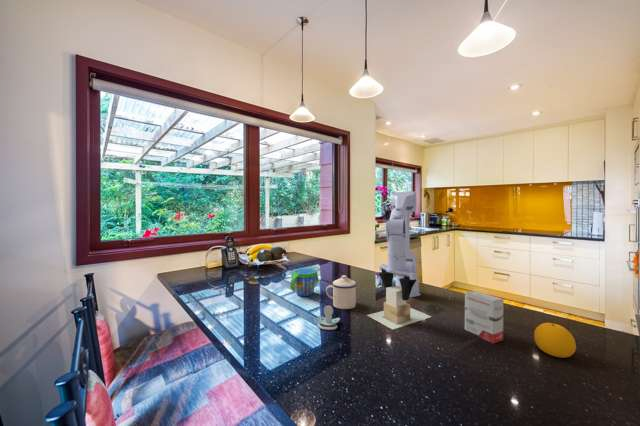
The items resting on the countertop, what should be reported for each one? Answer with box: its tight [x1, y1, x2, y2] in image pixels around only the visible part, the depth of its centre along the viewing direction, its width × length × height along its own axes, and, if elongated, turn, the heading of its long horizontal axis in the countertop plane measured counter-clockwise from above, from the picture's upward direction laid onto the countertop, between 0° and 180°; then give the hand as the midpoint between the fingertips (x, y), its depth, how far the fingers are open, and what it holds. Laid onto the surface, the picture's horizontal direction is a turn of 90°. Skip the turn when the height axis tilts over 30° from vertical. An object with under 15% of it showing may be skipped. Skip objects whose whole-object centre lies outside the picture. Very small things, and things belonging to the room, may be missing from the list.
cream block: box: [385, 285, 407, 307], centre depth 85 cm, size 4×4×5 cm
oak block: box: [383, 301, 411, 324], centre depth 85 cm, size 6×6×5 cm
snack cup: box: [289, 267, 319, 297], centre depth 112 cm, size 16×10×10 cm
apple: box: [533, 322, 577, 359], centre depth 65 cm, size 8×8×8 cm
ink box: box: [464, 290, 504, 344], centre depth 74 cm, size 8×5×12 cm, turn 26°
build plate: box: [366, 307, 432, 330], centre depth 87 cm, size 18×12×1 cm, turn 119°
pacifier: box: [316, 304, 341, 331], centre depth 81 cm, size 7×6×6 cm
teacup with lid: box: [325, 275, 357, 310], centre depth 98 cm, size 12×9×12 cm
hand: (396, 296), depth 85 cm, fingers open, 7 cm apart
